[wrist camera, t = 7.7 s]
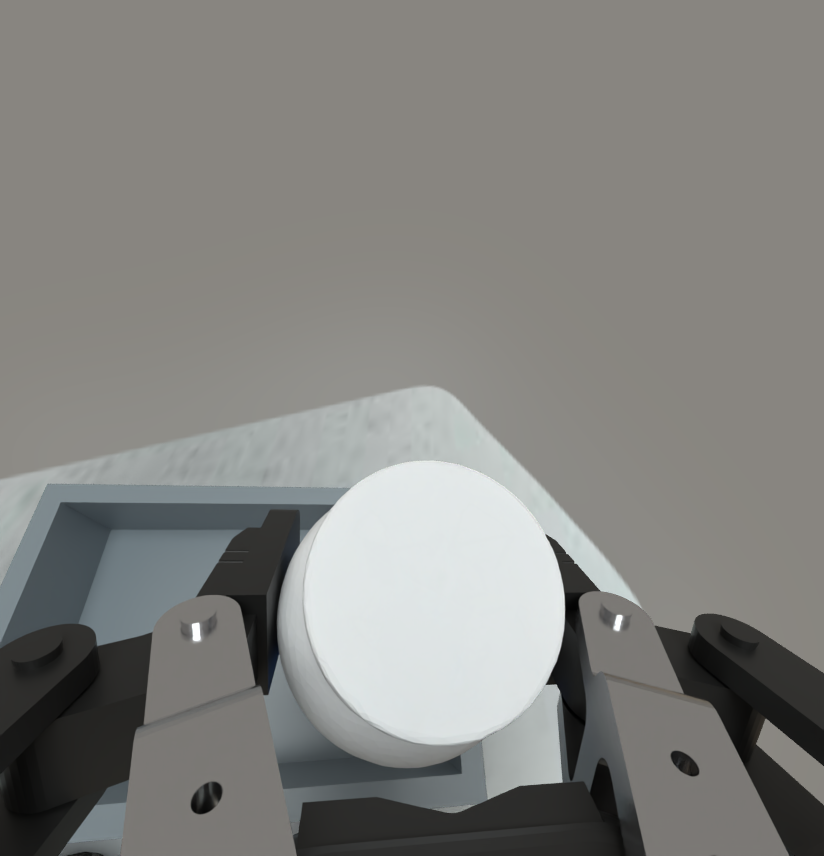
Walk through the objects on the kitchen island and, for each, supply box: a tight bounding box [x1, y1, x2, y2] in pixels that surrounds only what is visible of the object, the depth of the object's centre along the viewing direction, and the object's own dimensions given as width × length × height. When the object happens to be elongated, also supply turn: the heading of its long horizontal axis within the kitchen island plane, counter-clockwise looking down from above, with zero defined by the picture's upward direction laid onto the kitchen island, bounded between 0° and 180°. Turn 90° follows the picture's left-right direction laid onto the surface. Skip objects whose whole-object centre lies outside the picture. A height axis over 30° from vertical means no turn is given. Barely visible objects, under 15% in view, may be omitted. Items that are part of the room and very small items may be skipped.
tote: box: [0, 484, 487, 843], centre depth 21 cm, size 22×14×6 cm, turn 92°
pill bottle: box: [277, 461, 565, 768], centre depth 10 cm, size 6×5×10 cm
